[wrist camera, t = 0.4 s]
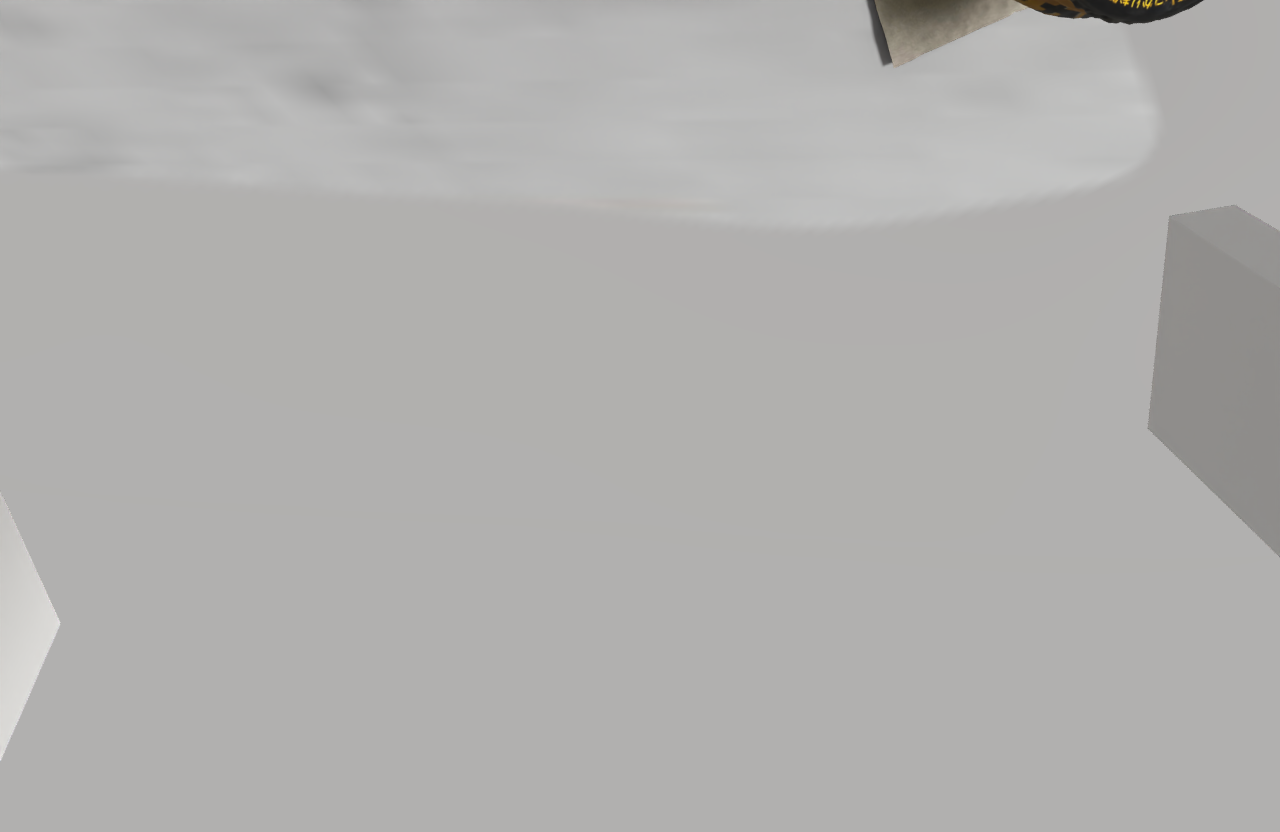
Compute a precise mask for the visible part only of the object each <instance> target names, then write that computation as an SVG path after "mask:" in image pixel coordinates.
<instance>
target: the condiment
mask: <svg viewBox="0 0 1280 832" xmlns="http://www.w3.org/2000/svg"><path fill="white" fill-rule="evenodd" d="M874 1H875V5H876V9H877V12H878V15H879V18H880V22H881V25H882V28H883V30H884V33H885V37H886V40H887V44H888V48H889V52H890V55H891V59H892V62H893V66H894V68H896V67H898V66H900V65H902V64H904V63H906V62H909V61H911V60H913V59H915V58H917V57H919V56H920V55H922V54H924V53H927V52H929V51H932V50H934V49H936V48H938V47H940V46H942V45H945V44H947V43H949V42H952V41H954V40H956V39H958V38H960V37H963V36H965V35H967V34H969V33H971V32H973V31H975V30H978V29H980V28H982V27H985V26H987V25H989V24H992V23H994V22H996V21H999V20H1001V19H1004V18H1006V17H1008V16H1010V15H1011V14H1012V13H1014V12H1018V11H1021V10H1024V9H1026V8H1032V9H1034V10H1036V11H1039V12H1042V13H1043V14H1047V15H1053V16H1058V17H1065V18H1073V19H1074V18H1089V17H1094V18H1100V19H1102V20H1103V21H1106V22H1108V23H1119V22H1122V23H1126V24H1129V25H1130V24H1133V23H1148V22H1152V21H1155V20H1161V19H1164V18H1168V17H1171V16H1173V15H1175V14H1177V13H1179V12H1182V11H1184V10H1187V9H1190V8H1192V7H1193V6H1195V5H1197V4H1198V3H1200V2H1202V1H1203V0H874Z"/></svg>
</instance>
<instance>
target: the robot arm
mask: <svg viewBox="0 0 1280 832" xmlns="http://www.w3.org/2000/svg"><path fill="white" fill-rule="evenodd" d="M1151 392H1152V393H1151V401H1150V412H1149V421H1148V429H1149V430H1150V431H1151V432H1152V433H1153V434H1154V435H1155V436H1156V437H1157V438H1158V439H1159V440H1160V441H1161V442H1162V443H1163V444H1164V445H1165V446H1166V447H1167V448H1168V449H1169V450H1170V451H1171V452H1173V454H1174V455H1176V456H1177V457H1178V458H1179V459H1180V460H1181V461H1182V462H1183V463H1184V464H1185V465H1186V466H1187V467H1188V468H1189V469H1190V470H1191V471H1192V472H1193V473H1194V474H1195V475H1196V476H1197V477H1198V478H1199V479H1200V480H1201V481H1202V482H1203V483H1204V484H1205V485H1206V486H1207V487H1208V488H1209V489H1210V490H1211V491H1212V492H1213V493H1215V494H1216V495H1217V496H1218V497H1219V498H1220V499H1221V500H1222V501H1223V502H1224V503H1225V504H1226V505H1227V506H1228V507H1229V508H1230V509H1231V510H1232V511H1233V512H1234V513H1235V514H1236V515H1237V516H1238V517H1239V518H1240V519H1241V520H1242V521H1243V522H1244V523H1245V524H1246V525H1247V526H1248V527H1250V529H1251V530H1252V531H1254V532H1255V533H1256V534H1257V535H1258V536H1259V537H1260V538H1261V539H1262V540H1263V541H1264V542H1265V543H1266V544H1267V545H1268V546H1269V547H1270V548H1271V549H1272V550H1273V551H1274V552H1275V553H1276V554H1277V555H1278V556H1279V557H1280V231H1279V230H1277V229H1275V228H1273V227H1272V226H1270V225H1269V224H1267V223H1265V222H1263V221H1262V220H1260V219H1258V218H1257V217H1255V216H1253V215H1251V214H1250V213H1248V212H1246V211H1245V210H1243V209H1241V208H1239V207H1238V206H1236V205H1231V206H1225V207H1220V208H1214V209H1208V210H1202V211H1196V212H1190V213H1184V214H1178V215H1172V216H1169V224H1168V234H1167V243H1166V254H1165V263H1164V274H1163V283H1162V293H1161V303H1160V313H1159V323H1158V332H1157V343H1156V353H1155V362H1154V372H1153V381H1152V391H1151ZM59 626H60V621H59V619H58V617H57V615H56V613H55V610H54V608H53V606H52V604H51V601H50V599H49V597H48V595H47V593H46V590H45V588H44V586H43V584H42V582H41V579H40V578H39V575H38V573H37V571H36V569H35V566H34V564H33V562H32V560H31V558H30V555H29V553H28V551H27V549H26V546H25V544H24V542H23V540H22V538H21V535H20V533H19V531H18V529H17V527H16V524H15V522H14V520H13V518H12V516H11V513H10V511H9V509H8V507H7V505H6V502H5V500H4V498H3V496H2V494H1V491H0V761H1V759H2V756H3V754H4V752H5V749H6V747H7V745H8V743H9V740H10V738H11V736H12V733H13V731H14V729H15V727H16V724H17V722H18V720H19V718H20V715H21V713H22V710H23V708H24V706H25V704H26V702H27V699H28V697H29V695H30V692H31V690H32V687H33V685H34V683H35V681H36V679H37V676H38V674H39V672H40V670H41V667H42V665H43V663H44V660H45V658H46V656H47V654H48V651H49V649H50V646H51V644H52V642H53V640H54V638H55V635H56V633H57V631H58V628H59Z"/></svg>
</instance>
